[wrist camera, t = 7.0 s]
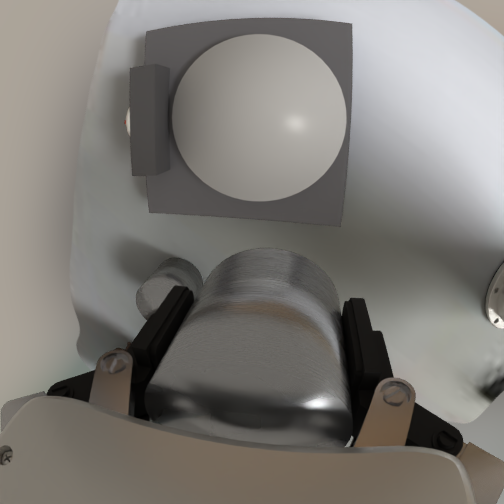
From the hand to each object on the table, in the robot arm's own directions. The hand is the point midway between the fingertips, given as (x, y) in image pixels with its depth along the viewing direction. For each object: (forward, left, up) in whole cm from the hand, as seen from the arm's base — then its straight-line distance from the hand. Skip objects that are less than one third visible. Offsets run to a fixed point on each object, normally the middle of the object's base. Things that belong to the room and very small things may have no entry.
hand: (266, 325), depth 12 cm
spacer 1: (+13, +11, -20) cm, 26 cm away
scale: (+5, -8, -20) cm, 22 cm away
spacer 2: (0, 0, -1) cm, 1 cm away
